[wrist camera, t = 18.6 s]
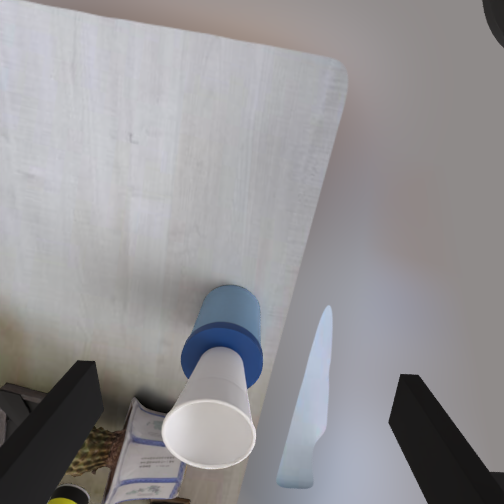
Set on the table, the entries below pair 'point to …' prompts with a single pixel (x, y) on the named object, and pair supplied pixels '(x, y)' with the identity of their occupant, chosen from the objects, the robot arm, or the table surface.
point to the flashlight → (69, 495)
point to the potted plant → (132, 458)
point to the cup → (212, 414)
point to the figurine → (170, 501)
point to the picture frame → (16, 407)
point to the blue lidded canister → (227, 330)
